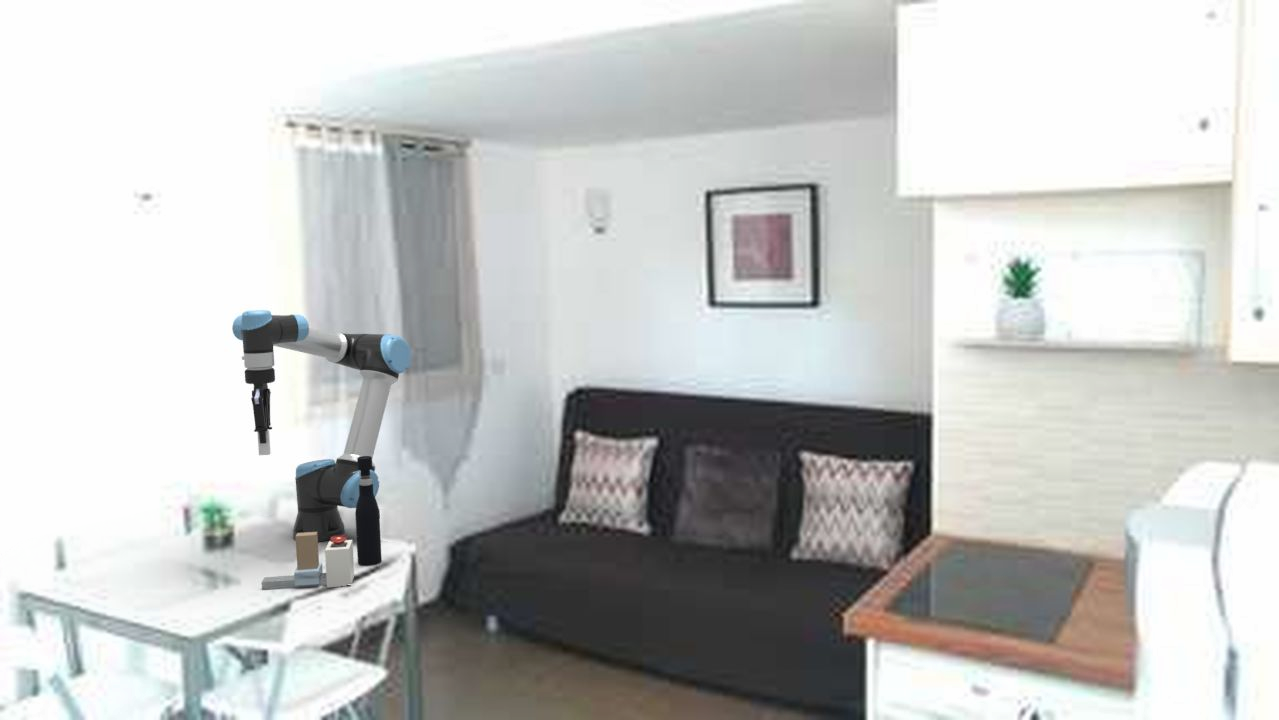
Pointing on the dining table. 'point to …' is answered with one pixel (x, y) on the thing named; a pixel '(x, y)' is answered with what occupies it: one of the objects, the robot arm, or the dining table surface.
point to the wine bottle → (367, 518)
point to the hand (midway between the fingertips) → (264, 454)
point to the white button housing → (339, 564)
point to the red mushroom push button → (338, 540)
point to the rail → (288, 582)
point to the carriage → (307, 559)
